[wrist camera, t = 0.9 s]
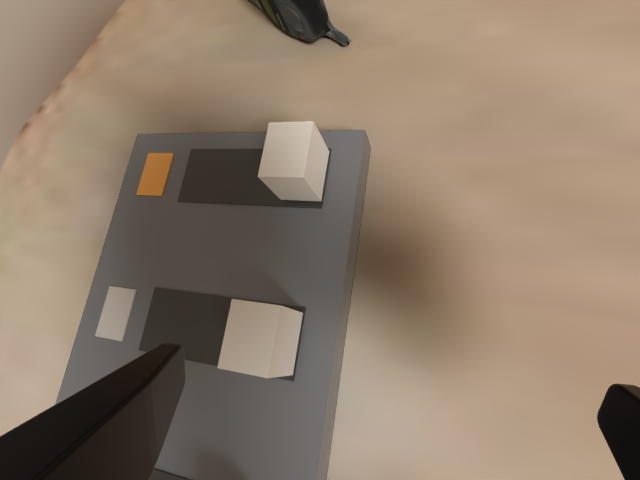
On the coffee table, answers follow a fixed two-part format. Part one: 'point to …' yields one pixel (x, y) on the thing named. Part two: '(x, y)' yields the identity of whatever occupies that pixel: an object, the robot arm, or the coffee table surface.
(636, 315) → the coffee table surface
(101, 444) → the robot arm
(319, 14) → the mobile phone
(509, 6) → the coffee table surface
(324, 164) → the tab
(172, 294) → the switch plate
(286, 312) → the tab middle
